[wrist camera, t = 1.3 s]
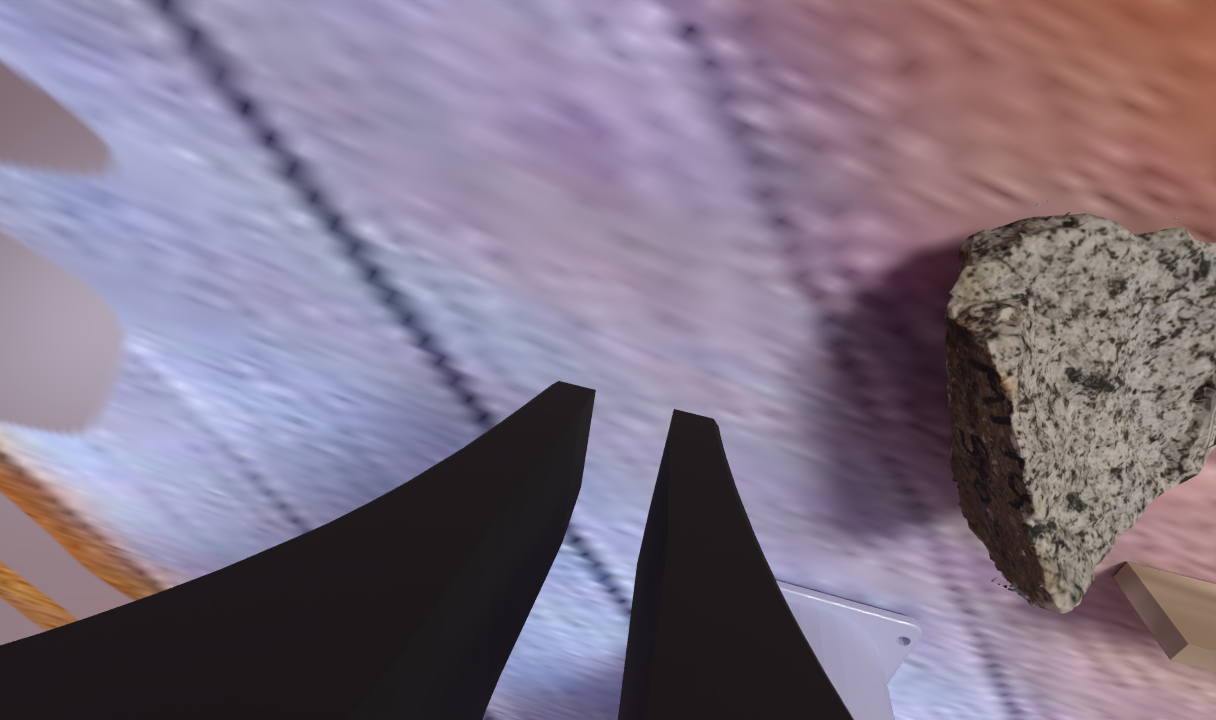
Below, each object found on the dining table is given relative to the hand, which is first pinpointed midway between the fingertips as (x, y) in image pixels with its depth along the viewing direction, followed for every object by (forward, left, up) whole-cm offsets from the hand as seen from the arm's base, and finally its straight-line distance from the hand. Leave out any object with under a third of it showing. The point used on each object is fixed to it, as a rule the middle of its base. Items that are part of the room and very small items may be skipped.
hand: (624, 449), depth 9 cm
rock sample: (0, -11, -10) cm, 15 cm away
